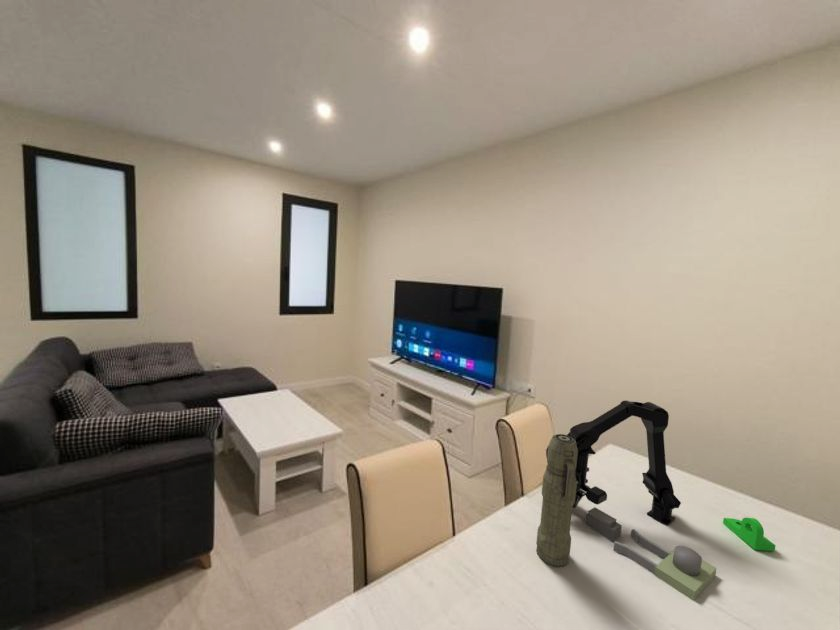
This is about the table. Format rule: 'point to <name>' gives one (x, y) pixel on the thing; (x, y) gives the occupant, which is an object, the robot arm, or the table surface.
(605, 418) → the robot arm
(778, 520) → the table surface
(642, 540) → the green block with prongs
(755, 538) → the mechanical part
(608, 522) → the two tier gray step
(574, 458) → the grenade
